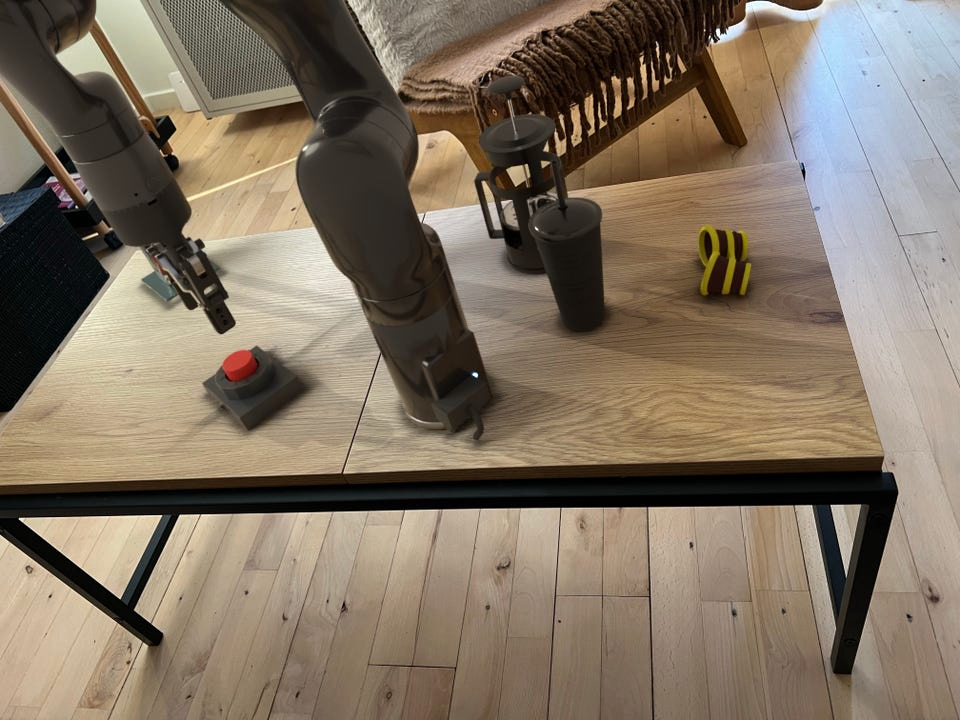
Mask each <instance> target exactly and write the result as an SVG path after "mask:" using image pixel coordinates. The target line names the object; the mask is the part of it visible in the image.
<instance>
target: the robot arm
mask: <svg viewBox="0 0 960 720" xmlns="http://www.w3.org/2000/svg"><path fill="white" fill-rule="evenodd" d="M217 1H218V2H219V3H221V5H223V6H224V7H225V8H226V9H227V10H228V11H229V12H230V13H232V14H233V15H234V16H235V17H236V18H237V19H238V20H240V21H241V22H242V23H243V24H244V25H246V26H247V27H248V28H249V29H250V30H251V31H252V32H253V33H255V34H256V35H257V37H259V38H260V39H261V40H262V41H264V43H265V44H266V45H267V46H268V47H269V49H270V50H271V51H272V52H273V54H275V56H276V57H277V58H278V60H279V61H280V62H281V64H282V66H283V67H284V69H285V70H286V72H287V74H288V75H289V77H290V79H291V81H292V83H293V84H294V86H295V88H296V90H297V92H298V94H299V96H300V98H301V100H302V102H303V104H304V106H305V108H306V111H307V114H308V115H309V118H310V120H311V122H312V125H313V127H312V129H311V131H310V133H308V136H307V137H306V139H305V141H304V143H302V144H303V145H301V147H300V150H299V152H298V154H297V157H296V161H295V168H294V169H295V172H294V173H295V180H296V185H297V188H298V192H299V195H300V198H301V201H302V203H303V205H304V207H305V210H306V212H307V214H308V217H309V218H310V220H311V222H312V224H313V226H314V228H315V230H316V232H317V234H318V237H319V238H320V240H321V242H322V244H323V246H324V248H325V250H326V253H327V254H328V256H329V258H330V260H331V262H332V263H333V266H335V268H336V269H337V270H338V271H339V273H341V274H342V276H344V277H345V278H346V279H348V280H349V282H350V285H351V287H352V289H353V292H354V294H355V296H356V298H357V300H358V303H359V305H360V308H361V310H362V312H363V315H364V317H365V320H366V322H367V324H368V327H369V329H370V331H371V334H372V336H373V338H374V341H375V343H376V345H377V348H378V350H379V352H380V355H381V357H382V359H383V361H384V362H383V363H384V364H385V366H386V368H387V371H388V374H389V375H390V378H391V380H392V383H393V385H394V387H395V389H396V391H397V394H398V396H399V398H400V401H401V404H402V408H403V411H404V413H405V415H406V417H407V418H408V420H409V421H410V422H411V423H412V424H414V425H415V426H418V427H420V428H423V429H428V430H448V431H449V432H451V433H454V432H456V431H457V430H458V429H459V428H460V427H462V426H463V425H464V424H465V423H466V422H468V421H469V420H470V419H473V421H474V423H475V426H476V430H475V432H474V433H473V435H472V439H473V440H474V441H479V440H481V437H482V436H483V434H484V431H485V425H484V422H483V419H482V417H481V416H480V414H479V412H480V411H481V410H482V409H483V408H484V407H485V406H486V405H488V404H489V403H490V402H491V401H492V400H494V398H495V396H494V392H493V388H492V387H491V382H490V379H489V377H488V376H489V375H488V374H487V371H486V367H485V365H484V361H483V358H482V354H481V351H480V349H479V348H480V347H479V345H478V342H477V339H476V335H475V333H474V331H473V330H471V329H470V328H469V326H468V322H467V319H466V316H465V312H464V309H463V307H462V304H461V303H462V302H461V300H460V297H459V294H458V291H457V288H456V285H455V281H454V278H453V275H452V272H451V268H450V265H449V263H448V260H447V256H446V253H445V249H444V246H443V243H442V241H441V238H440V235H439V234H438V232H437V231H436V230H435V229H434V228H433V227H432V226H430V225H429V224H427V223H425V222H421V220H420V218H419V215H418V213H417V208H416V206H415V204H414V201H413V198H412V196H411V192H410V189H409V188H410V185H411V181H412V179H413V177H414V174H415V171H416V168H417V165H418V161H419V153H420V143H419V142H420V141H419V135H418V132H417V128H416V126H415V123H414V121H413V119H412V116H411V115H410V113H409V111H408V109H407V107H406V106H405V104H404V103H403V101H402V99H401V98H400V96H399V95H398V93H397V91H396V89H395V88H394V86H393V85H392V83H391V82H390V80H389V79H388V77H387V75H386V73H385V72H384V70H383V69H382V67H381V66H380V64H379V62H378V60H377V59H376V57H375V56H374V54H373V53H372V51H371V49H370V47H369V45H368V43H367V42H366V41H365V38H364V37H363V35H362V34H361V32H360V30H359V28H358V26H357V24H356V22H355V20H354V19H353V17H352V15H351V13H350V10H349V9H348V6H347V4H346V1H345V0H217ZM96 14H97V0H0V76H1V77H2V79H4V80H5V81H6V82H7V83H8V84H9V85H10V86H11V87H12V88H13V89H14V90H15V91H16V92H17V93H18V94H19V95H20V96H21V97H22V98H23V99H24V100H25V101H26V102H27V103H28V104H29V105H30V106H31V107H32V108H34V109H35V111H36V112H37V113H38V114H40V115H41V116H42V117H43V119H44V120H45V121H46V122H47V123H48V125H49V126H50V128H51V130H52V131H53V132H54V135H55V136H56V138H57V139H58V141H59V142H60V144H61V146H62V147H63V148H64V150H65V152H66V154H67V156H69V158H70V160H71V161H72V163H73V165H74V167H75V169H76V170H77V173H78V175H79V177H80V179H81V181H82V183H83V185H84V186H85V189H86V190H87V191H88V193H89V194H90V196H91V198H92V199H93V201H94V202H95V204H96V206H97V207H98V208H99V210H100V211H101V213H102V215H103V216H104V218H105V219H106V221H107V223H108V224H109V226H110V228H111V229H112V230H113V232H114V234H115V235H116V237H117V238H118V239H119V241H120V243H122V244H123V245H125V246H127V247H131V248H140V247H143V249H144V250H145V252H146V254H147V255H148V257H149V258H150V260H151V261H152V263H153V265H154V266H155V269H156V271H157V272H159V273H160V274H162V275H163V276H164V277H165V280H166V281H167V282H169V283H170V284H171V283H172V286H173V287H174V289H175V291H176V292H177V294H178V295H177V296H178V297H179V299H180V300H181V302H182V304H183V305H184V307H185V308H186V309H187V310H189V311H195V310H196V309H197V308H201V310H202V311H203V313H204V315H205V316H206V318H207V320H208V321H209V323H210V325H211V326H212V328H213V329H214V331H215V332H216V333H217V334H218V335H224V334H226V333H228V332H229V331H230V330H231V329H233V328H234V327H235V326H236V324H237V321H236V320H235V318H234V316H233V314H232V313H231V311H230V309H229V308H228V305H227V304H226V302H225V301H226V300H228V299H229V298H230V295H229V292H228V291H227V290H226V288H225V287H224V285H223V283H222V281H221V279H220V278H219V276H218V273H216V271H215V270H214V269H213V267H212V265H211V263H210V262H211V261H210V260H209V257H208V254H207V253H206V252H205V251H203V249H202V250H199V251H198V247H197V245H196V244H195V243H194V241H195V240H194V239H192V238H191V236H187V237H185V235H184V233H183V230H184V227H185V226H186V225H187V224H188V223H189V222H190V219H191V216H192V214H193V210H192V206H191V205H190V203H189V201H188V199H187V197H186V195H185V194H184V191H183V190H182V188H181V186H180V185H179V183H178V181H177V179H176V177H175V175H174V174H173V172H172V170H171V169H170V166H169V165H168V162H167V161H166V160H165V158H164V156H163V154H162V152H161V151H160V149H159V147H158V146H157V144H156V143H155V141H154V140H153V139H152V138H151V136H150V135H149V133H148V132H147V130H146V128H145V127H144V125H143V123H142V122H141V119H140V118H139V116H138V115H137V113H136V111H135V109H134V108H133V105H132V104H131V102H130V100H129V98H128V97H127V95H126V93H125V91H124V90H123V88H122V87H121V85H120V84H119V83H118V81H117V79H115V78H114V77H113V76H112V74H109V73H107V72H105V71H97V70H94V71H87V72H82V73H78V74H75V75H74V74H73V73H72V72H70V71H69V70H68V68H66V67H65V66H64V65H63V64H62V63H61V62H60V60H59V58H58V57H57V55H59V54H61V53H62V52H64V51H66V50H67V49H68V48H71V47H72V46H73V45H75V44H76V43H77V44H78V42H80V41H81V40H82V39H84V38H85V37H86V36H87V35H88V34H89V33H90V31H91V30H92V28H93V25H94V23H95V19H96ZM208 288H209V289H210V291H209V292H206V293H205V290H206V289H208Z"/></svg>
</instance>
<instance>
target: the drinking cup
mask: <svg viewBox="0 0 960 720" xmlns="http://www.w3.org/2000/svg"><path fill="white" fill-rule="evenodd" d="M550 167H551V172H552V176H553V177H554V182H555V187H554V189H555V193H557V198H558V200H555V201H552V202H550V203H548V204H545V205H544V206H542V207H540V208H539V209H538V210H536V211H535V212H534V213H533V214H532V216H531V217H530V220H529V224H528V226H529V230H530V233H531V234H532V235H533V236H534V237H535V240H536V243H537V246H538V250H539V252H540V255H541V258H542V261H543V264H544V267H545V270H546V272H545V273H546V276H547V279H548V281H549V285H550V288H551V291H552V294H553V297H554V299H555V303H556V305H557V306H556V307H557V308H558V311H559V314H560V317H561V320H562V323H563V325H564V326H565V328H566V329H568V330H570V331H572V332H578V333H583V332H589V331H592V330H594V329H597V328H598V327H599V326H601V324H602V323H603V322H604V321H605V318H606V307H605V288H604V268H603V265H604V264H603V248H602V247H603V246H602V229H601V228H602V227H601V223H602V220H603V210H602V208H601V206H600V204H598V203H597V202H596V201H594V200H592V199H589V198H586V197H579V196H578V197H575V196H574V197H573V196H572V197H568V198H564V193H563V188H562V183H561V177H560V172H559V166H558V162H557V161H552V162H550Z"/></svg>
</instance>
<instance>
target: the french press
mask: <svg viewBox="0 0 960 720" xmlns="http://www.w3.org/2000/svg"><path fill="white" fill-rule="evenodd" d="M524 84H525V78H524V77H522V76H519V75H507V76H502V77H500V78H498V79H494V81H492V82H490V83H489V84H488V86H487V89H486V91H487V92H488V93H489V94H492V95H503V98H504V100H505V101H507V103H508V108H509V113H510V117H507V118H504V119H501V120H499V121H497V122H495V123H492V124H491V125H490V126H488V127H487V128H486V129H484V131H482V133H481V135H480V136H479V138H478V144H479V147H480V149H481V150H483V152H485V157H486V160H487V161H488V162H489V163H490V164H491V165H494V166H492V168H491V169H490V171H480V172H477V173H476V176H475V178H474V180H473V181H474V187H475V190H476V194H477V199H478V201H479V205H480V210H481V212H482V216H483V219H484V224H485V226H486V227H485V228H486V230H487V235H488V237H489V239H490V240H502V239H503V241H504V246H505V250H506V259H507V262H508V265H509V266H510V267H511V268H512V269H514V270H516V271H518V272H520V273H524V274H531V275H532V274H534V275H535V274H544V273H546V270H545V267H544V264H543V261H542V258H541V255H540V252H539V249H538V246H537V243H536V240H535V237H534V236H533V235H532V234H531V233H530V230H529V226H528V224H529V220H530V217H531V216H532V214H533V213H534V212H535V211H536V210H538V209H539V208H540V207H542V206H544V205H545V204H548V203H550V202H552V201H555V200H558V198H557V193H556V191H551V190H553V189H555V182H554V177H553V175H552V176H551V177H549V178H548V179H545V175H544V169H543V164H542V162H547V163H551V162H552V161H557V162H558V167H559V172H560V177H561V183H562V188H563V193H564V198H569V193H568V187H567V182H566V178H565V173H564V167H563V162H562V159H561V158H560V155H557V154H556V153H554V152H551V151H547V150H545V148H546V145H547V143H548V140H549V139H550V138H551V137H552V136H553V134H554V133H555V131H556V124H555V121H554V120H553V119H552V118H551V117H549V116H547V115H545V114H539V113H525V114H517V115H515V113H514V109H513V103H512V99H513V98H514V97H513V92H514V91H516V90H518V89H520V88H521V87H522V86H523V85H524ZM526 165H527V167H526ZM520 166H522V170H523V175H524V180H525V184H526V187H524V188H523V187H522V188H513V189H512V188H511V189H510V188H503V187H499V186H498V184H497V178H498V177H499V175H501V174H502V173H503V172H505V171H507V170H509V169H510V168H514V167H520ZM527 168H528V172H529V177H530V179H529V177H528V172H527ZM483 182H488V183H489V187H490V191H491V193H492V196H493V200H494V204H495V209H496V212H497V217H498V220H499V224H500V227H501V228H500V229H495V226H494V224H493V220H492V216H491V212H490V208H489V204H488V200H487V197H486V193H485V188H484V186H483ZM530 182H531V186H530ZM501 199H504V200H510V201H509V202H508V203H507V204H506V205H505V206H504V207H503V203H502V200H501ZM521 246H523V249H519V248H520V247H521Z"/></svg>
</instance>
